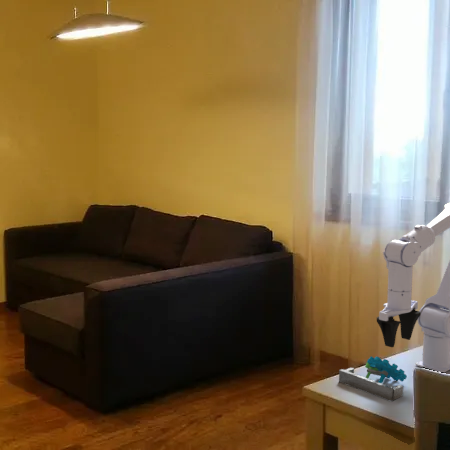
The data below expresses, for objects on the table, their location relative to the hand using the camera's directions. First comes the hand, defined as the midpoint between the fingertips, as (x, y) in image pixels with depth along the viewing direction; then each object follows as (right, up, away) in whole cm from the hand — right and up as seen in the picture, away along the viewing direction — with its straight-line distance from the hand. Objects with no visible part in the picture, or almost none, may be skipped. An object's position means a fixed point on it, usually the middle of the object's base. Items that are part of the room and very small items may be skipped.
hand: (397, 342), depth 169 cm
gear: (-4, -10, -1) cm, 11 cm away
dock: (-8, -10, -5) cm, 14 cm away
